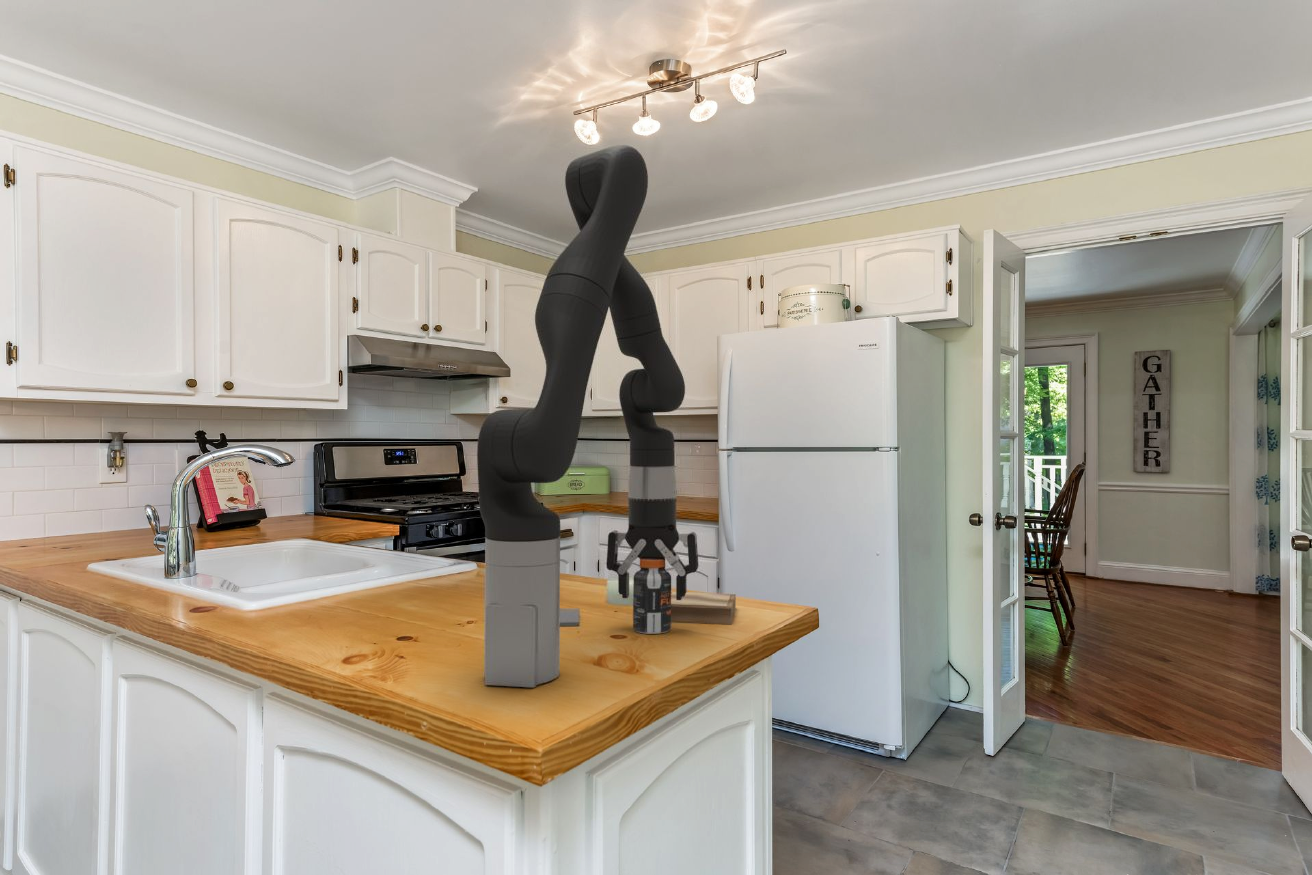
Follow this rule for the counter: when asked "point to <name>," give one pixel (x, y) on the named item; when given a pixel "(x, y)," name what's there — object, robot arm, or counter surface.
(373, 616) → the counter surface
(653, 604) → the pill bottle
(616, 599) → the pale green puck
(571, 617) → the coaster
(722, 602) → the riser
